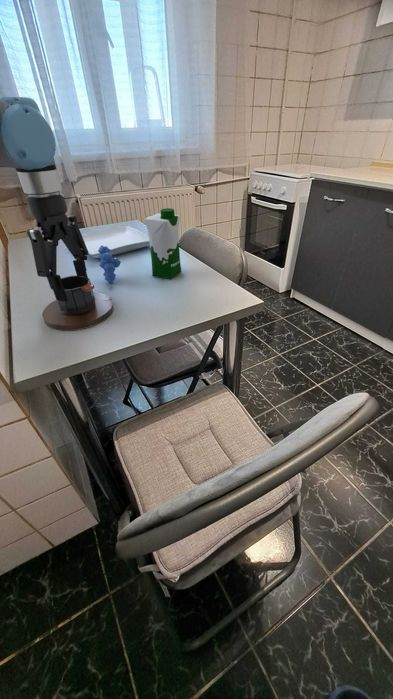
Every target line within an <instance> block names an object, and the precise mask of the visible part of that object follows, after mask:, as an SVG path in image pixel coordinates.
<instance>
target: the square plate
mask: <svg viewBox="0 0 393 699" xmlns="http://www.w3.org/2000/svg"><path fill="white" fill-rule="evenodd" d="M81 235H82V237H83V240H84V242H85V245H86V247H87V250H88V255H89V256H91V257H92V258H94V259H100V258H99V256H100V253H99V252H98V250H99V248H100V247H101V246H102V245H104V246H106V247H108V248H109V249H110V252H109V254H110V255H111V256H112V257H114V256H116V255H120V254H124V253H129V252H132V251H137V250H139V249H142V248H145V247H148V246H149V247H150V243H149V235H148V234H146V233H145V232H142V231H140V230H138V229H136V228H133V227H131V226H128V225H123V226H117V227H110V228H105V229H99V230H93V231H89V232H85V233H81Z"/></svg>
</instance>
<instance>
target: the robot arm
mask: <svg viewBox="0 0 393 699" xmlns="http://www.w3.org/2000/svg"><path fill="white" fill-rule="evenodd" d="M56 144H57V143H56V138H55V134H54V131H53V129H52V127H51V124H50V123H49V121H48V120H47V119H46V117H45V116H44V115H43V113H42V111H41V108H40V105H39V103H38V102H37V101H36V100H35V99H34V98H32V97H25V96H0V168H10V169H15V170H16V173H17V176H18V179H19V182H20V185H21V188H22V192H23V193H24V194H25V195H27V196H26V198H25V201H26V203H27V207H28V209H29V212H30V215H31V216H32V217H33V218H34V219H35V222H36V227H33V228H31V229H30V228H28V229H27V230H26V234H27V236H28V238H29V240H30V245H31V247H32V254H33V259H34V260H33V261H34V263H35V269H36V274H37V276H38V277H42V278H46V279H47V282H48V285H49V287H50V289H51V290H52V291H54V292H53V295H54V294H55V295H54V297H56V298H55V300H58V301H65V302H66V301H67V296H66V293H65V290H64V287H63V284H62V280H61V278H62V277H61V275H60V274H57V272H58V271H57V265H58V264H57V253H58V252H57V251H58V248H57V247H58V246H59V242H60V240H61V241H62V242H63V244H64V246H65V247H66V249H67V250H68V252H70V254H71V255H72V257H73V258H74V260H72V263H73V268H74V270H75V274H76V275H78V276H86V277H88V272H87V267H86V261H88V255H89V254H88V250H87V247H86V245H85V242H84V240H83V237H82V235H81V234H82V232H81V229H80V227H79V224H78V223H79V222H78V218H77V215H71V214H70V215H67V212H68V209H69V208H68V205H67V201H66V198H65V195H64V194H63V193H62V191H63V186H62V182H61V178H60V175H59V171H58V169H57V165H56V160H55V155H56V149H57V148H56V146H57V145H56ZM88 278H89V277H88Z"/></svg>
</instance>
